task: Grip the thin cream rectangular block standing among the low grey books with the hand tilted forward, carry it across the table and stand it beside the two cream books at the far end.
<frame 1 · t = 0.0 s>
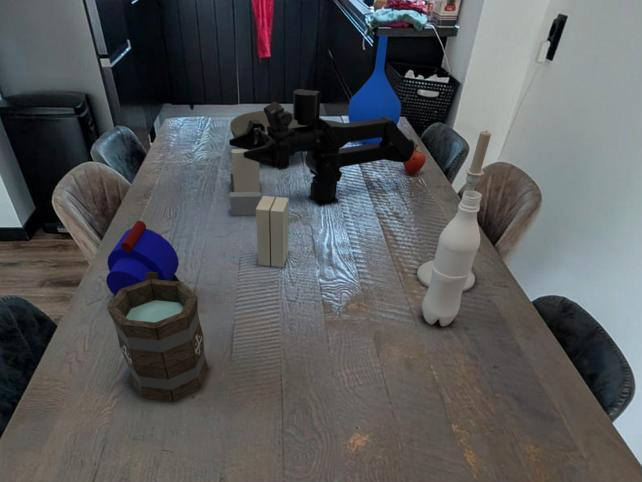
hand: (236, 148, 115), 17 cm above the table, tool horizontal, fingers open, 9 cm apart
white books: (273, 232, 107), on the table
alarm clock: (147, 299, 99), on the table
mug: (169, 364, 85), on the table
bowl: (271, 157, 158), on the table
grey books: (247, 201, 133), on the table
apple: (410, 174, 150), on the table
water bottle: (436, 319, 97), on the table
candlestick: (445, 278, 108), on the table
vase: (370, 140, 172), on the table
cream rectangular block: (247, 201, 133), on the table
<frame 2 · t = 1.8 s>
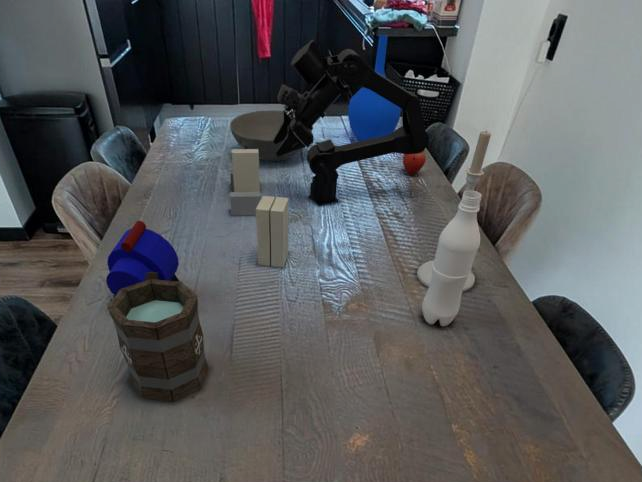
hand: (275, 148, 124), 13 cm above the table, tool tilted 45°, fingers open, 9 cm apart
nothing on the table moved.
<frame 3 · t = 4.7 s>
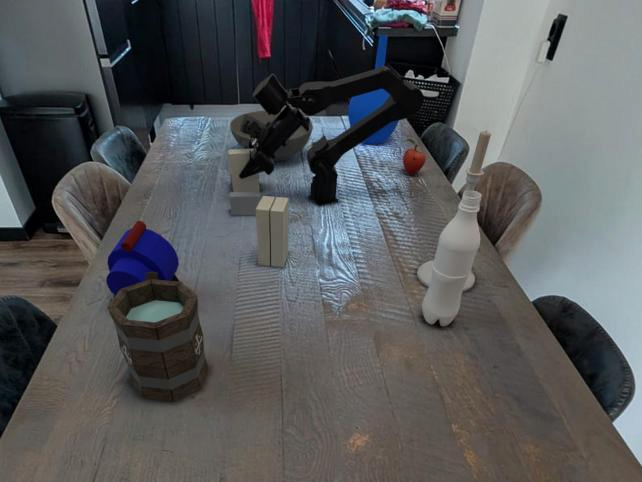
hand: (239, 174, 128), 7 cm above the table, tool tilted 45°, fingers closed on cream rectangular block, 4 cm apart
cream rectangular block: (247, 200, 133), on the table, touching gripper
everything else where it was.
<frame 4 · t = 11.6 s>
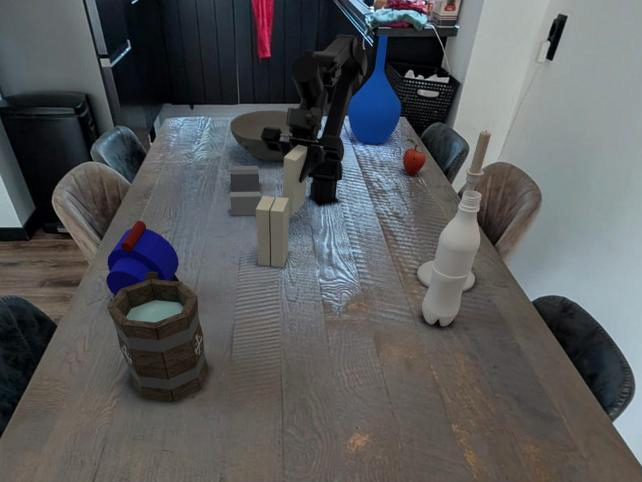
hand: (293, 180, 108), 14 cm above the table, tool tilted 45°, fingers closed on cream rectangular block, 3 cm apart
cream rectangular block: (293, 207, 115), point 7 cm above the table, tilted 8°, touching gripper
everything else where it was.
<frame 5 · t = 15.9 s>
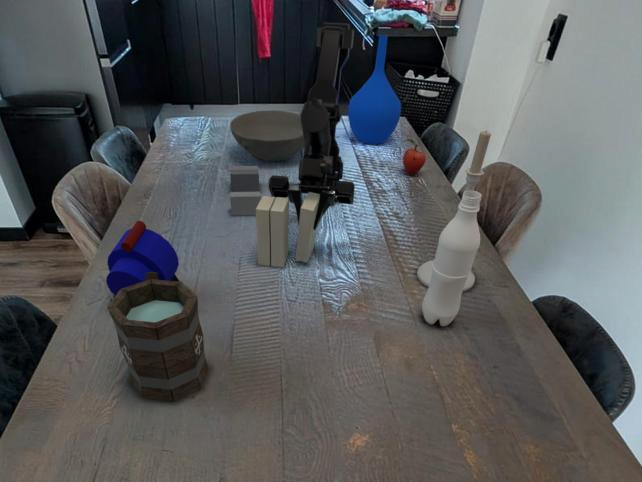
hand: (307, 228, 106), 8 cm above the table, tool tilted 45°, fingers closed on cream rectangular block, 3 cm apart
cream rectangular block: (305, 253, 112), point 1 cm above the table, tilted 8°, touching gripper
everything else where it was.
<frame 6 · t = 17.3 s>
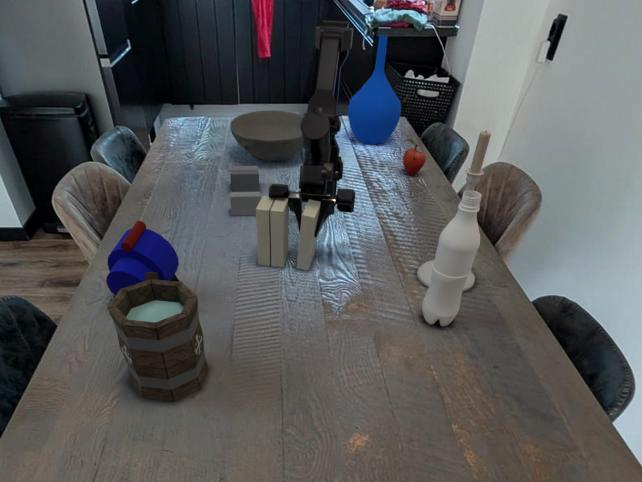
hand: (308, 236, 104), 7 cm above the table, tool tilted 45°, fingers closed on cream rectangular block, 3 cm apart
cream rectangular block: (305, 261, 111), on the table, tilted 6°, touching gripper
everything else where it was.
when the fingers open (7 cm above the table, at t = 18.5 s): cream rectangular block stays where it is, on the table.
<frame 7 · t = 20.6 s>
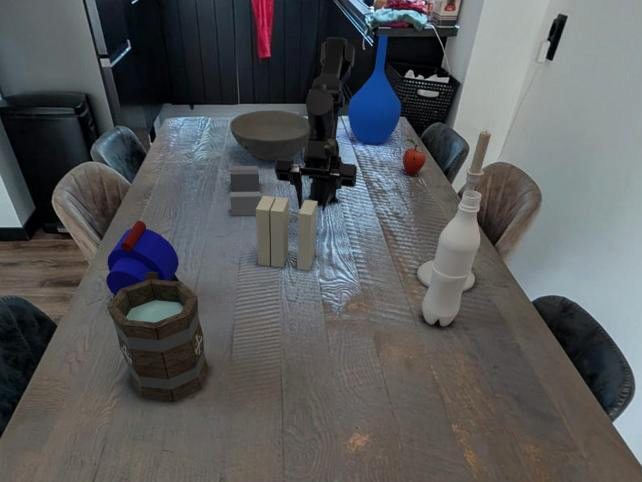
hand: (311, 209, 110), 9 cm above the table, tool tilted 45°, fingers open, 5 cm apart
cream rectangular block: (306, 262, 111), on the table
everything else where it was.
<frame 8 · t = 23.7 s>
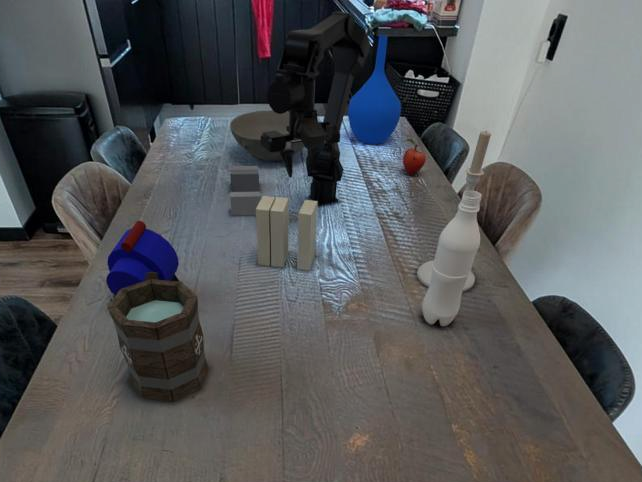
hand: (300, 175, 118), 11 cm above the table, tool pointing down, fingers open, 5 cm apart
nothing on the table moved.
at the end: cream rectangular block 0.4 cm off-centre on the white books, point 0.0 cm above the white books's base; cream rectangular block tilted 0°; the gripper is holding nothing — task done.
